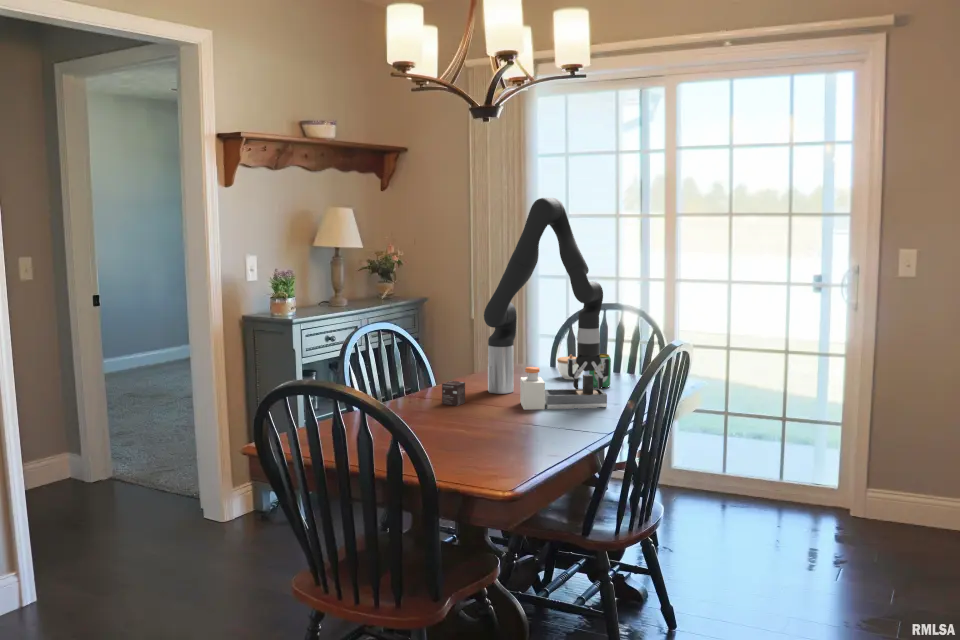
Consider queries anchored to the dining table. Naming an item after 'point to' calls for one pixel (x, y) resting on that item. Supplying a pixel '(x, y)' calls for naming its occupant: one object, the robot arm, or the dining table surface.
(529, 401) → the white boxy piece
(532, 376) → the button
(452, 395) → the box
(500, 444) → the dining table surface
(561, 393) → the gray rectangular tray
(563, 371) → the lidded jar
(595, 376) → the beverage can
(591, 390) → the carriage
